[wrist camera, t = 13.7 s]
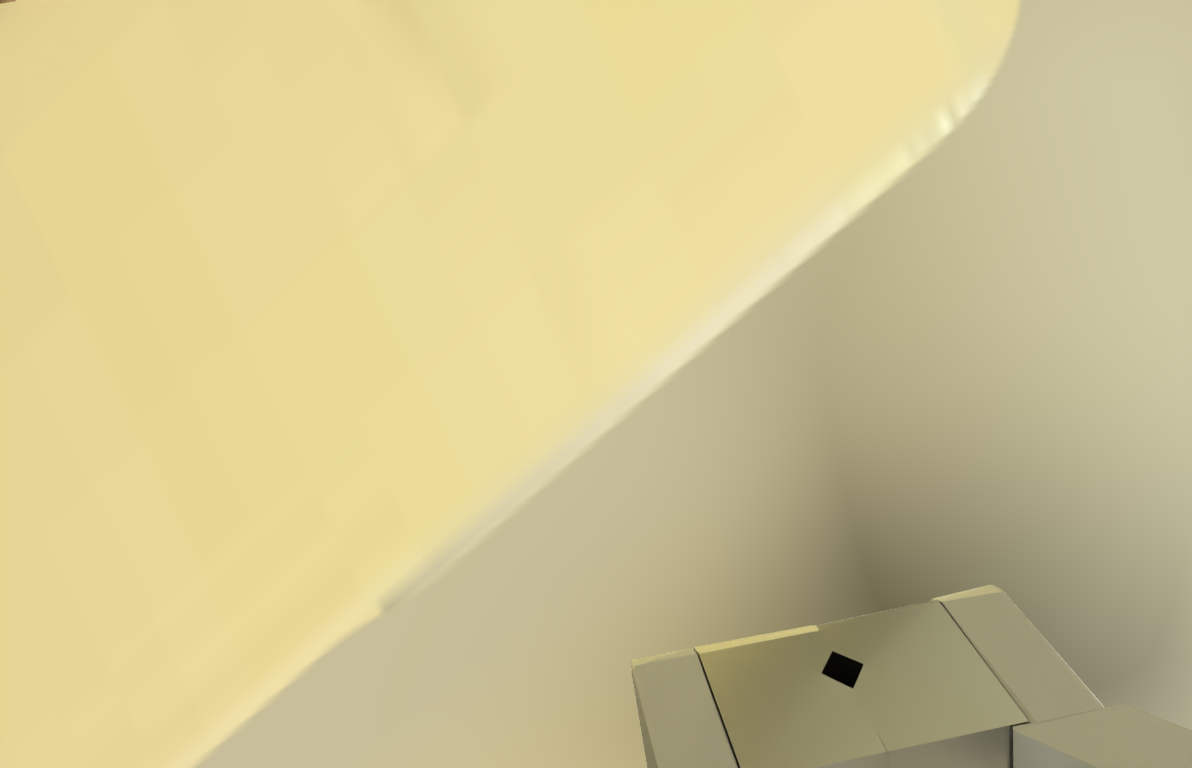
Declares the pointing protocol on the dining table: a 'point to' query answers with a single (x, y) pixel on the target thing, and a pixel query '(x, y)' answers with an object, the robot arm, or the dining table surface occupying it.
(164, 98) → the dining table surface
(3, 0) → the walnut switch board
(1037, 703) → the robot arm
